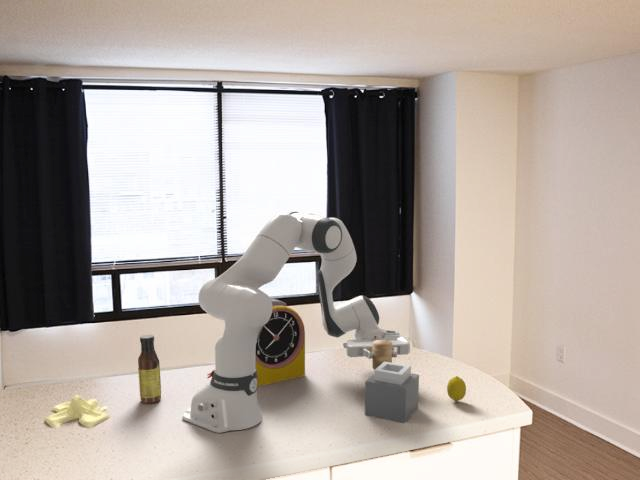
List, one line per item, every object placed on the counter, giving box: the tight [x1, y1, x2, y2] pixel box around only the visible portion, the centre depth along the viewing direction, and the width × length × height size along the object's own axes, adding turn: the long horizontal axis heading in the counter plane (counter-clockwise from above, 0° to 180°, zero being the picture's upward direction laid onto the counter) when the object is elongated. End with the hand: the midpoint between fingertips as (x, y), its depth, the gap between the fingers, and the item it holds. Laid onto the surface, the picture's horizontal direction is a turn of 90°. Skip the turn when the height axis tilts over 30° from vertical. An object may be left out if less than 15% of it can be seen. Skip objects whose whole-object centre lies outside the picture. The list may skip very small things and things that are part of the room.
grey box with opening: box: [364, 362, 420, 424], centre depth 177 cm, size 12×12×13 cm
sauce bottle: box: [137, 334, 162, 404], centre depth 184 cm, size 6×6×20 cm
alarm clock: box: [256, 298, 306, 387], centre depth 203 cm, size 21×9×26 cm, turn 123°
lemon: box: [446, 375, 467, 403], centre depth 185 cm, size 6×6×8 cm
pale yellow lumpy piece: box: [44, 394, 112, 429], centre depth 177 cm, size 22×19×6 cm
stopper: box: [371, 340, 393, 370], centre depth 190 cm, size 6×6×11 cm
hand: (383, 355), depth 189 cm, fingers closed on stopper, 6 cm apart
